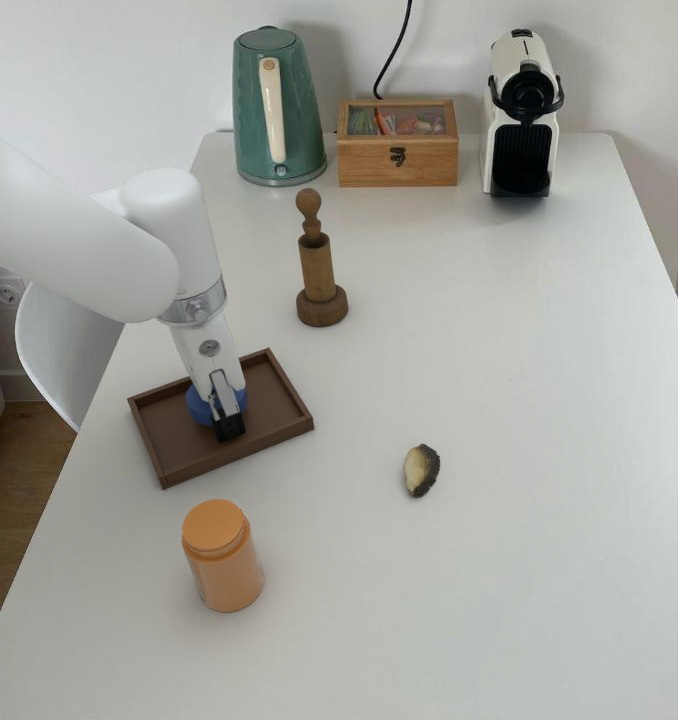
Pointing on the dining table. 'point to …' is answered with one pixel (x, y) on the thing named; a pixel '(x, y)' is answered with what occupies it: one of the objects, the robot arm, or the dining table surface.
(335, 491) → the dining table surface
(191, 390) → the lid
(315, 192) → the mortar and pestle
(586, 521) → the dining table surface
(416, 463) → the nut kernel
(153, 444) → the tray
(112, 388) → the dining table surface
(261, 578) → the jar
